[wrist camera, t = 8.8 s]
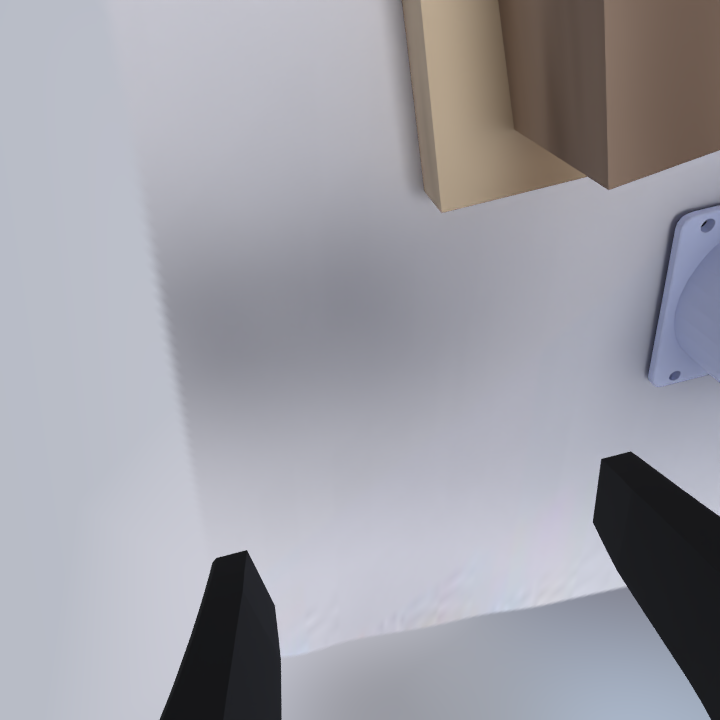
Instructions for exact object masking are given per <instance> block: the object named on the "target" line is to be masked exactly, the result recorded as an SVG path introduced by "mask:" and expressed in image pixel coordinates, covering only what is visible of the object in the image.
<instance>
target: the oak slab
mask: <svg viewBox="0 0 720 720" xmlns="http://www.w3.org/2000/svg"><path fill="white" fill-rule="evenodd" d="M402 5H403V14H404V22H405V31H406V39H407V48H408V56H409V65H410V73H411V82H412V90H413V99H414V107H415V116H416V124H417V133H418V142H419V150H420V159H421V167H422V176H423V184H424V191H425V193H426V194H427V195H428V196H429V198H430V199H431V200H432V201H433V203H434V204H435V205H436V206H437V208H438V209H439V210H440V211H441V213H444V212H448V211H452V210H456V209H460V208H464V207H468V206H472V205H476V204H480V203H484V202H488V201H492V200H496V199H500V198H504V197H508V196H512V195H516V194H520V193H524V192H528V191H532V190H536V189H540V188H544V187H548V186H552V185H556V184H560V183H564V182H568V181H572V180H576V179H580V178H584V177H588V176H586V175H584V174H583V173H581V172H580V171H578V170H577V169H575V168H574V167H572V166H570V165H569V164H567V163H566V162H564V161H563V160H561V159H560V158H558V157H556V156H555V155H553V154H552V153H550V152H549V151H547V150H546V149H544V148H542V147H541V146H539V145H538V144H536V143H535V142H533V141H531V140H530V139H528V138H527V137H525V136H524V135H522V134H521V133H519V132H517V131H516V130H514V123H513V115H512V107H511V99H510V91H509V83H508V76H507V68H506V60H505V52H504V44H503V36H502V28H501V20H500V12H499V4H498V0H402Z"/></svg>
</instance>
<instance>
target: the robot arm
mask: <svg viewBox="0 0 720 720" xmlns="http://www.w3.org/2000/svg"><path fill="white" fill-rule="evenodd" d="M706 220H707V222H706V224H705V225H704V226H703V227H701V226H702V224H703V223H704V222H705V221H706ZM709 374H710V375H711V376H712V377H713V378H715V379H716V380H717V381H718V382H719V383H720V205H718V206H714V207H710V208H706V209H702V210H698V211H694V212H690V213H688V214H686V215H684V216H683V217H682V218H681V219H680V220H679V222H678V223H677V225H676V228H675V233H674V239H673V244H672V250H671V255H670V260H669V266H668V271H667V277H666V282H665V288H664V293H663V299H662V304H661V309H660V315H659V320H658V326H657V331H656V337H655V342H654V348H653V353H652V358H651V364H650V369H649V375H648V380H649V381H650V382H651V383H652V384H653V385H654V386H656V387H662V386H666V385H670V384H674V383H678V382H682V381H686V380H689V379H693V378H697V377H701V376H705V375H709ZM593 523H594V525H595V527H596V530H597V532H598V534H599V536H600V538H601V540H602V542H603V544H604V546H605V548H606V550H607V552H608V554H609V556H610V558H611V560H612V562H613V564H614V565H615V567H616V569H617V571H618V573H619V574H620V576H621V577H622V579H623V581H624V582H625V584H626V585H627V587H628V588H629V590H630V591H631V593H632V595H633V596H634V598H635V599H636V601H637V602H638V604H639V605H640V607H641V608H642V610H643V612H644V613H645V614H646V616H647V617H648V619H649V621H650V622H651V624H652V625H653V627H654V628H655V630H656V631H657V633H658V634H659V636H660V637H661V639H662V640H663V642H664V644H665V645H666V646H667V648H668V649H669V651H670V652H671V654H672V655H673V657H674V659H675V660H676V662H677V663H678V665H679V666H680V668H681V670H682V671H683V672H684V674H685V676H686V677H687V679H688V680H689V682H690V684H691V685H692V687H693V688H694V690H695V692H696V693H697V695H698V697H699V699H700V700H701V702H702V704H703V705H704V707H705V709H706V711H707V713H708V715H709V717H710V718H711V720H720V516H718V515H717V514H715V513H714V512H713V511H711V510H710V509H708V508H707V507H706V506H704V505H703V504H701V503H700V502H699V501H697V500H696V499H695V498H693V497H692V496H690V495H689V494H688V493H686V492H685V491H684V490H682V489H681V488H680V487H678V486H677V485H675V484H674V483H673V482H671V481H670V480H669V479H667V478H666V477H665V476H663V475H662V474H661V473H659V472H658V471H657V470H655V469H654V468H653V467H651V466H650V465H649V464H647V463H646V462H645V461H643V460H642V459H641V458H639V457H638V456H637V455H635V454H634V453H632V452H627V453H623V454H619V455H615V456H611V457H608V458H604V459H601V465H600V473H599V480H598V488H597V495H596V503H595V510H594V518H593ZM160 720H281V657H280V648H279V638H278V629H277V621H276V612H275V605H274V603H273V601H272V599H271V597H270V595H269V593H268V591H267V589H266V587H265V585H264V583H263V581H262V579H261V577H260V575H259V573H258V571H257V569H256V567H255V565H254V563H253V561H252V559H251V557H250V555H249V553H248V551H247V550H246V551H242V552H238V553H234V554H230V555H226V556H223V557H219V558H216V559H215V560H214V562H213V563H212V567H211V570H210V574H209V578H208V582H207V585H206V589H205V592H204V596H203V599H202V603H201V606H200V609H199V612H198V615H197V618H196V621H195V624H194V628H193V631H192V634H191V637H190V640H189V643H188V645H187V648H186V651H185V654H184V657H183V660H182V662H181V665H180V668H179V671H178V674H177V676H176V679H175V682H174V685H173V687H172V690H171V693H170V695H169V698H168V700H167V703H166V705H165V708H164V710H163V713H162V715H161V718H160Z"/></svg>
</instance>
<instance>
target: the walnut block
mask: <svg viewBox="0 0 720 720" xmlns="http://www.w3.org/2000/svg"><path fill="white" fill-rule="evenodd" d="M498 4H499V12H500V20H501V28H502V36H503V44H504V52H505V60H506V68H507V76H508V83H509V91H510V99H511V107H512V115H513V123H514V130H516V131H517V132H519V133H521V134H522V135H524V136H525V137H527V138H528V139H530V140H531V141H533V142H535V143H536V144H538V145H539V146H541V147H542V148H544V149H546V150H547V151H549V152H550V153H552V154H553V155H555V156H556V157H558V158H560V159H561V160H563V161H564V162H566V163H567V164H569V165H570V166H572V167H574V168H575V169H577V170H578V171H580V172H581V173H583V174H584V175H586V176H588V177H589V178H591V179H592V180H594V181H595V182H597V183H599V184H600V185H602V186H603V187H605V188H606V189H608V190H610V189H613V188H615V187H618V186H621V185H624V184H627V183H629V182H632V181H635V180H638V179H640V178H643V177H646V176H649V175H652V174H654V173H657V172H660V171H663V170H665V169H668V168H671V167H674V166H677V165H679V164H682V163H685V162H688V161H691V160H693V159H696V158H699V157H702V156H704V155H707V154H710V153H713V152H716V151H718V150H720V0H498Z"/></svg>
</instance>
